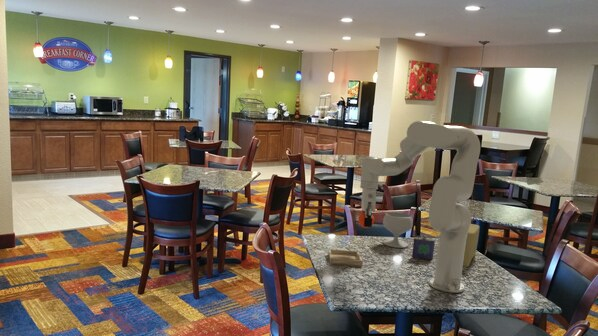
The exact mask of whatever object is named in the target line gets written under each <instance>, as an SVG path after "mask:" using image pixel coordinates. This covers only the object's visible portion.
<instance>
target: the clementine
mask: <svg viewBox="0 0 598 336" xmlns="http://www.w3.org/2000/svg"><path fill="white" fill-rule="evenodd" d="M364 219H365V212H363V213H362V212H361V213H360V214H359V215H358V220H357V221H358V224H359V225H360V226H361V227H362V228H365V229H368V228H369V227H364ZM374 224H375V217H374V215H373V214H372V226H373V225H374Z"/></svg>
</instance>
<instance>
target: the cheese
mask: <svg viewBox="0 0 598 336" xmlns="http://www.w3.org/2000/svg"><path fill="white" fill-rule="evenodd" d="M479 236H480V225H478V224H475V223H474V224H473V223H471V224H470V227H469V230H468V234H467V239H466V245H465V252H464V260H463V267H465V268H469V267H470V265H471V262H472V260H473V258H475V257H474V256H475V255H476V253H477V248H478V243H479Z"/></svg>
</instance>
